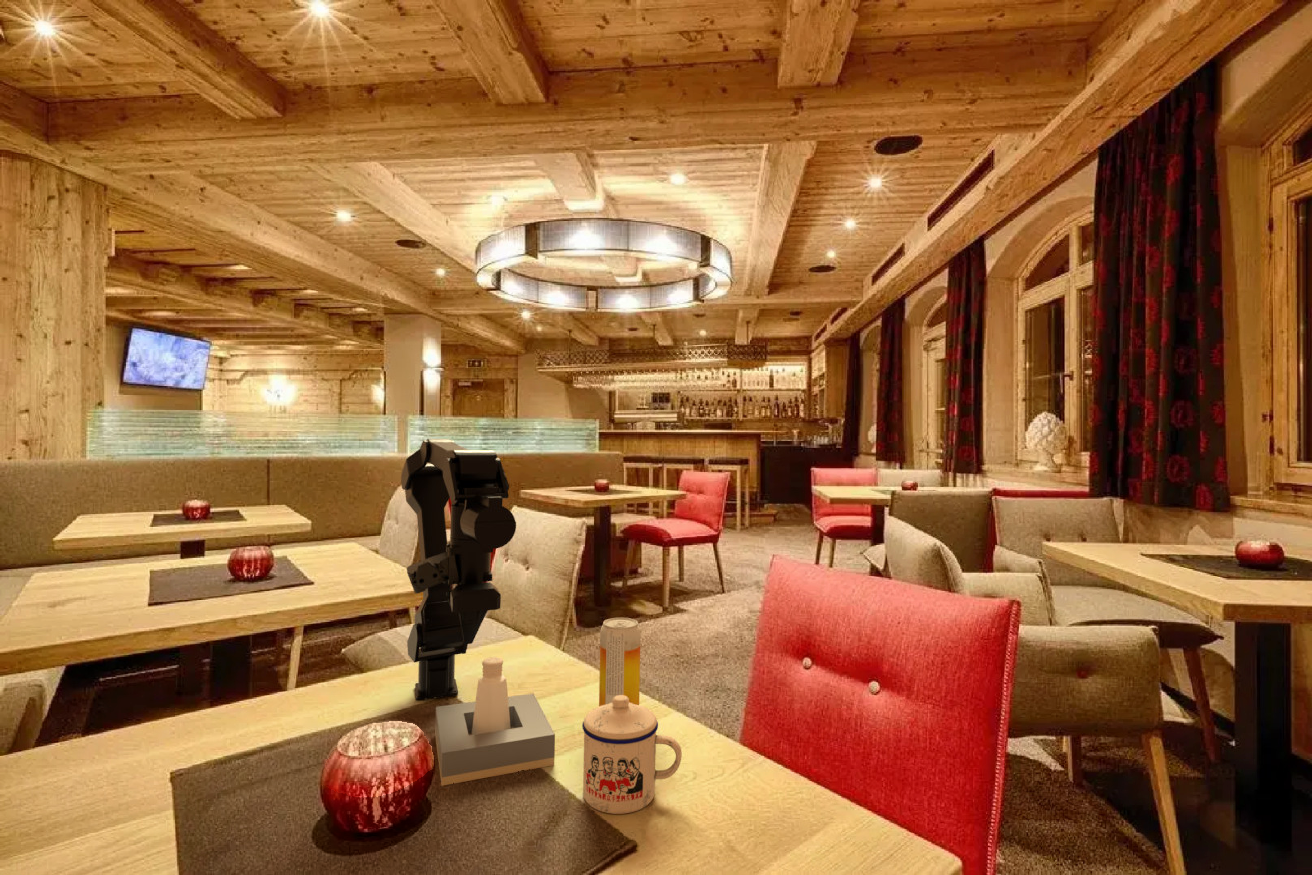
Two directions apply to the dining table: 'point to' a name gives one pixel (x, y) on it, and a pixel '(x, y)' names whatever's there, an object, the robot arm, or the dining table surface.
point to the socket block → (492, 742)
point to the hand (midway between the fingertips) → (468, 643)
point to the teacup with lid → (622, 756)
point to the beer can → (619, 660)
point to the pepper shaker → (491, 699)
